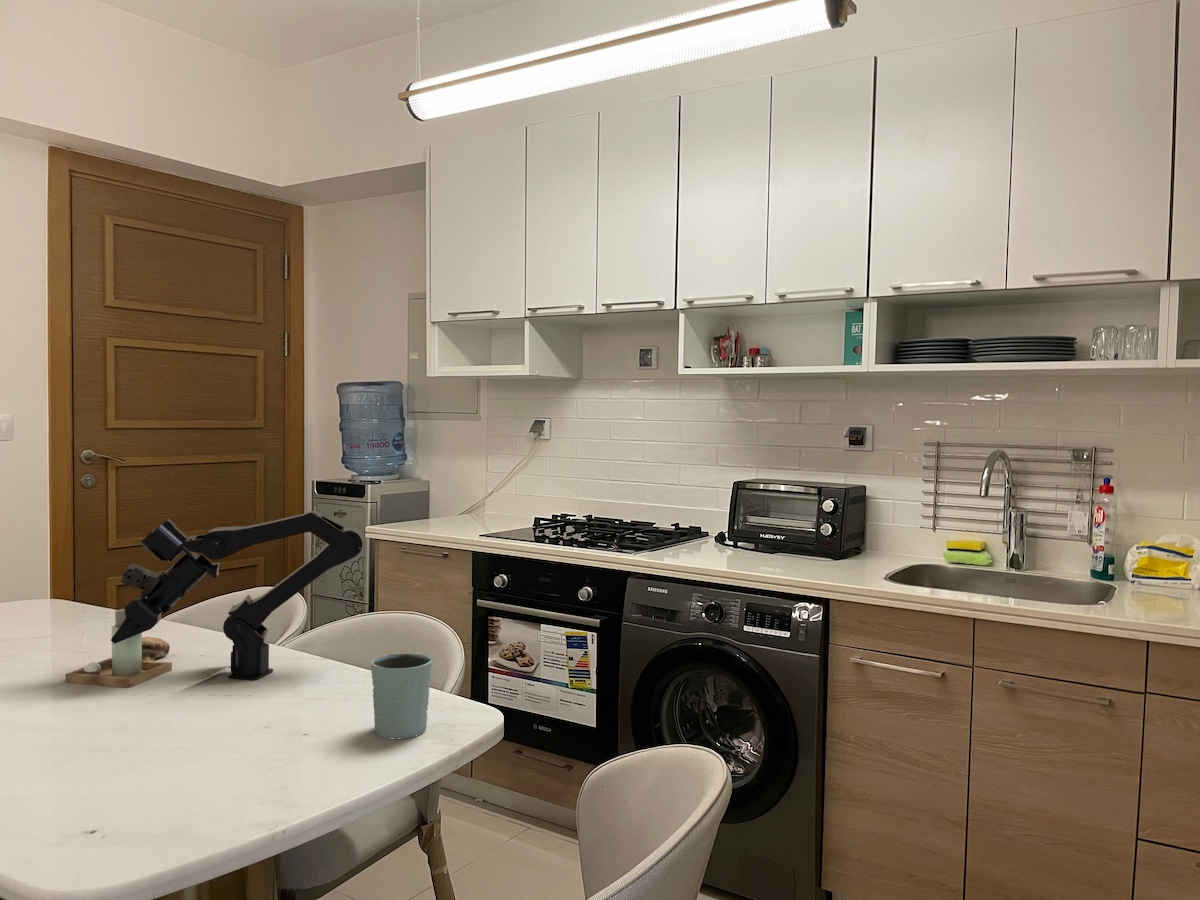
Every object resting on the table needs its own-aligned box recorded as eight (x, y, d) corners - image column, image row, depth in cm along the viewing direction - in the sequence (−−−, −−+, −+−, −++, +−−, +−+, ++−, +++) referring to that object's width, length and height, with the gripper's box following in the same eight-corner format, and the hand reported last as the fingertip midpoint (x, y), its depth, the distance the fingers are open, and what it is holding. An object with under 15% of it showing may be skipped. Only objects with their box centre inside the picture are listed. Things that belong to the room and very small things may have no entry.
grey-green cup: (370, 742, 146) (371, 670, 146) (369, 722, 156) (370, 653, 156) (433, 738, 149) (434, 666, 149) (428, 717, 159) (429, 650, 158)
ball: (105, 676, 176) (105, 661, 176) (93, 680, 173) (93, 665, 173) (91, 675, 176) (91, 660, 176) (80, 679, 173) (80, 664, 173)
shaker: (146, 676, 176) (146, 610, 176) (118, 681, 172) (118, 614, 172) (135, 670, 180) (134, 606, 179) (107, 676, 176) (107, 610, 175)
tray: (171, 674, 181) (171, 662, 181) (130, 692, 169) (130, 679, 169) (110, 669, 184) (110, 657, 183) (65, 687, 172) (65, 674, 172)
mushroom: (154, 655, 183) (152, 627, 186) (118, 669, 183) (117, 641, 186) (178, 664, 190) (176, 637, 193) (143, 678, 190) (142, 650, 193)
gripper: (158, 543, 185) (99, 598, 183) (137, 557, 167) (71, 619, 165) (200, 580, 187) (142, 635, 185) (183, 598, 169) (118, 659, 167)
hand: (118, 636), depth 175 cm, fingers open, 9 cm apart
